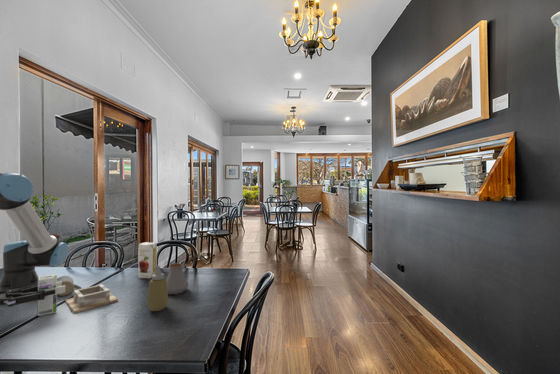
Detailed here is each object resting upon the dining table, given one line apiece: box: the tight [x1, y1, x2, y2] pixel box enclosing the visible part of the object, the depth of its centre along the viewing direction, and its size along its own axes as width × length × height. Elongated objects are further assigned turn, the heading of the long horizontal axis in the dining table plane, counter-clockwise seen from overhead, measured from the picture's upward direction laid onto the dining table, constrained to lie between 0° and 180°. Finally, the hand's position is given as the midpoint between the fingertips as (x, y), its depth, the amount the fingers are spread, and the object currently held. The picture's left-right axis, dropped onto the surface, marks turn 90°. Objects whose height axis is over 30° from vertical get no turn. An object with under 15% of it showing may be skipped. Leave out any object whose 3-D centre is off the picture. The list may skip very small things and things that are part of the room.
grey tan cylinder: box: [57, 275, 83, 297], centre depth 132 cm, size 11×8×8 cm
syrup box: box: [37, 273, 58, 317], centre depth 112 cm, size 6×6×14 cm
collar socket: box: [65, 283, 119, 314], centre depth 123 cm, size 16×16×5 cm
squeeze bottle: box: [146, 265, 169, 312], centre depth 116 cm, size 8×8×18 cm
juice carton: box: [137, 241, 158, 279], centre depth 157 cm, size 8×9×19 cm
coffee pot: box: [165, 254, 200, 295], centre depth 140 cm, size 21×12×15 cm, turn 155°
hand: (63, 286), depth 116 cm, fingers closed on syrup box, 6 cm apart
